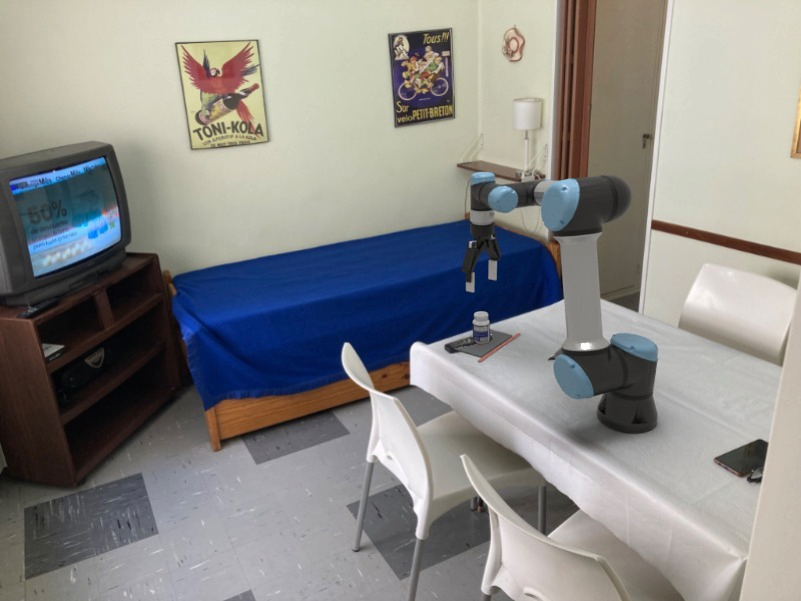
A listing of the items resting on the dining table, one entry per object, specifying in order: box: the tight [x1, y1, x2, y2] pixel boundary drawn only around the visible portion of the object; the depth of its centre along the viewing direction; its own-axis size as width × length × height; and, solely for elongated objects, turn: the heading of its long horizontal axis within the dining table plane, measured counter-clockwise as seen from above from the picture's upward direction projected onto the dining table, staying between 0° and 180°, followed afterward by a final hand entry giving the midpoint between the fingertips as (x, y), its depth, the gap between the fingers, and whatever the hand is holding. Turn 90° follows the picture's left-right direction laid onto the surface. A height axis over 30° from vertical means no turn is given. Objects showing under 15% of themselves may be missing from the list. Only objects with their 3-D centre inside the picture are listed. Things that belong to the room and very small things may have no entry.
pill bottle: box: [472, 310, 491, 344], centre depth 217 cm, size 6×6×10 cm
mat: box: [453, 329, 514, 359], centre depth 218 cm, size 20×11×1 cm, turn 141°
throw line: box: [477, 332, 522, 363], centre depth 214 cm, size 26×1×1 cm, turn 141°
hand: (481, 285), depth 211 cm, fingers open, 13 cm apart
